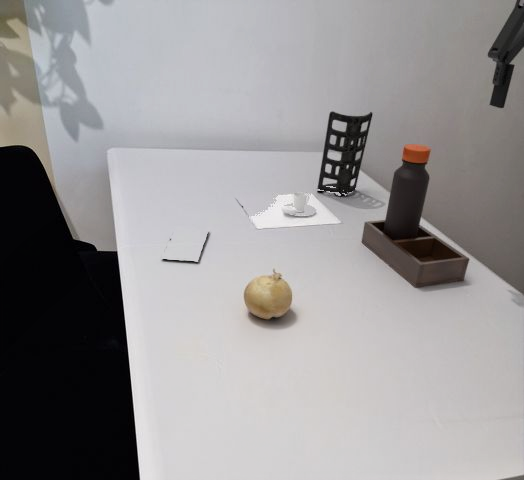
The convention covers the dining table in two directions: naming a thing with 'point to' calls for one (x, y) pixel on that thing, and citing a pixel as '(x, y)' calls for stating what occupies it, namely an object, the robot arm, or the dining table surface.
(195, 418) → the dining table surface
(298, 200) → the teacup and saucer
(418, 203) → the dark bottle
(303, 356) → the dining table surface
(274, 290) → the onion
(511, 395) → the dining table surface
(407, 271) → the bottle holder
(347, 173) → the holder
